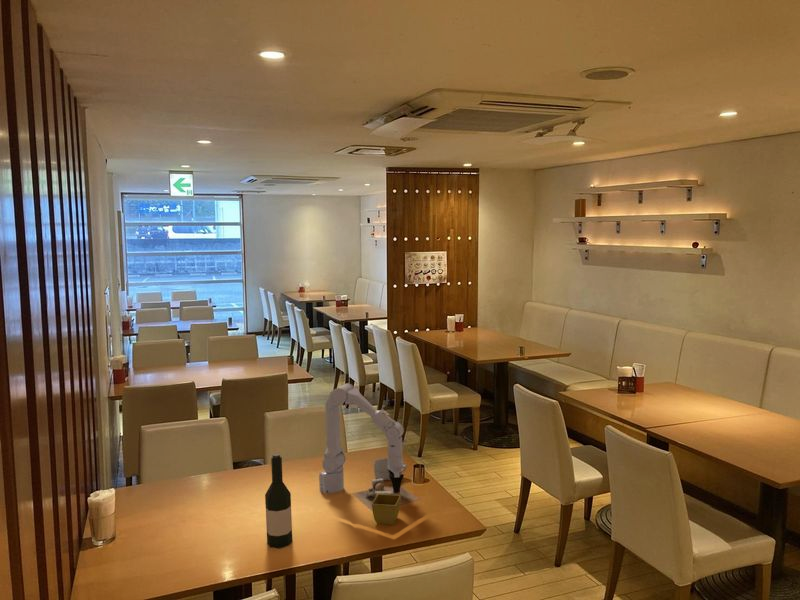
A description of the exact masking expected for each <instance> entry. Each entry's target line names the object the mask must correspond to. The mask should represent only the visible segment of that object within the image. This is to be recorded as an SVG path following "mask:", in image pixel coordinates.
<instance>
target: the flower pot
mask: <svg viewBox="0 0 800 600" xmlns="http://www.w3.org/2000/svg"><path fill="white" fill-rule="evenodd" d="M400 500H401V496H400V495H386V494H377V496H376V497H375V499H374V501H373V502H372V510H373V511H372V510H371V511H372V515H373V519H374V521H375V524H377V525H388V526H389V525H390V526H393V525H395V522H396V521H397V518H398V517H399V513H400V509H401V504H400Z"/></svg>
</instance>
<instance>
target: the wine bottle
mask: <svg viewBox="0 0 800 600" xmlns="http://www.w3.org/2000/svg"><path fill="white" fill-rule="evenodd" d="M282 459H283V457H282V456H281V454H280V453H273V454H272V455H271V457H270V463H271V465H270V466H271V484H270V485H269V487H268V489H267V490H266V493H265V494H264V497H265V498H264V499H265V520H266V521H265V523H266V524H265V525H266V527H265V528H266V541H267V542H266V544H267V545H268V547H269V548H270V549H271V548H272V549H282V548H287V547H289V546H290V545H291V544H292V543H293V521H292V520H293V519H292V495H291V491H290V490H289V489H288V487H287V486H286V484H285V483H284V482H283V460H282Z"/></svg>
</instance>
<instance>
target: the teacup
mask: <svg viewBox="0 0 800 600" xmlns="http://www.w3.org/2000/svg"><path fill="white" fill-rule="evenodd" d="M403 465H406V468H403V469H402V470H401V473H400V474H403V473H404V472H405V471H406V470H407V467H408V465H407V463H406V461H405V462H404V461H403ZM373 471H374V472H373V473H374V477H375V479H380V478H382V479H383V480H384V481H391V479H390V477H389V474H390V473H389V471H388V457H384V458H383V457H382V458H379V459H375V460H374V461H373Z"/></svg>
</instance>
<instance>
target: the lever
mask: <svg viewBox="0 0 800 600" xmlns="http://www.w3.org/2000/svg"><path fill="white" fill-rule="evenodd" d="M377 494H386V495H400V496H401V491H399V492H394V491H375V490H374V489H372V487H371V488H368V489H367V490H366V495H367V497H376V496H377Z"/></svg>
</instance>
